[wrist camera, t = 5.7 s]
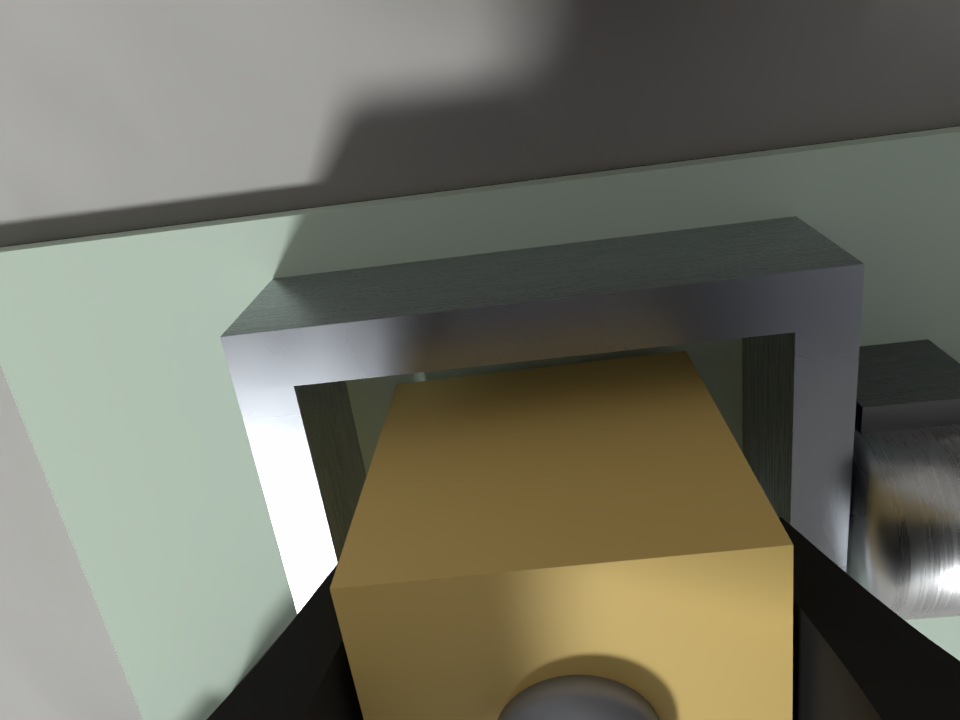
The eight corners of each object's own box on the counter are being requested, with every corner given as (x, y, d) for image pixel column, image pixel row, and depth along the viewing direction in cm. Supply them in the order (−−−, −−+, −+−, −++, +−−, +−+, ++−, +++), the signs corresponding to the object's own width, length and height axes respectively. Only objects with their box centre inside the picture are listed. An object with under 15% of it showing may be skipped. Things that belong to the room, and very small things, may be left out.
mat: (1440, 65, 11) (1472, 67, 11) (1191, 837, 17) (1206, 854, 17) (-28, 251, 13) (-44, 257, 13) (223, 889, 19) (217, 906, 19)
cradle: (787, 209, 12) (863, 264, 10) (779, 621, 15) (835, 746, 13) (279, 271, 13) (219, 336, 10) (370, 652, 16) (343, 778, 13)
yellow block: (697, 590, 14) (800, 895, 9) (442, 612, 14) (405, 918, 9) (685, 350, 12) (804, 564, 7) (396, 384, 13) (323, 609, 8)
